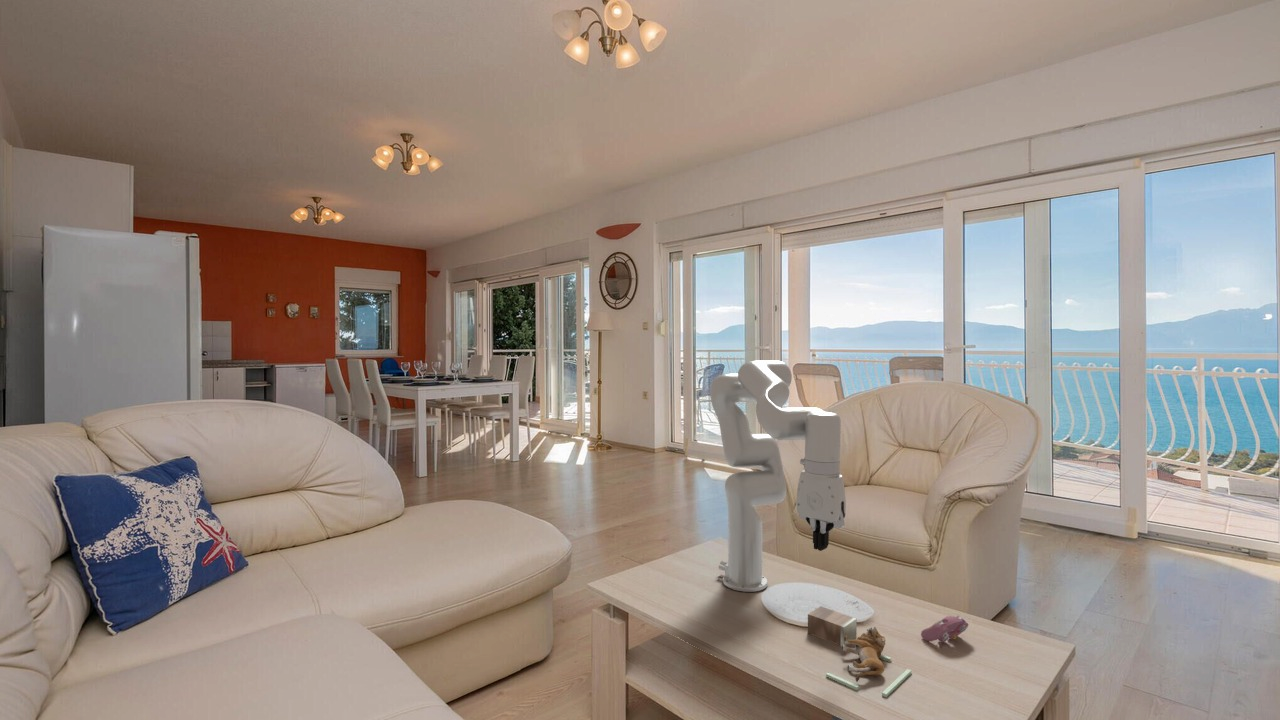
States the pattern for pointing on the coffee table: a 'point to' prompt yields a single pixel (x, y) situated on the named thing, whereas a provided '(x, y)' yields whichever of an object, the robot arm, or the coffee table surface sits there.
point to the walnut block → (832, 625)
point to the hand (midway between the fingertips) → (820, 548)
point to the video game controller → (945, 629)
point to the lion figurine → (867, 652)
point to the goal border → (887, 690)
